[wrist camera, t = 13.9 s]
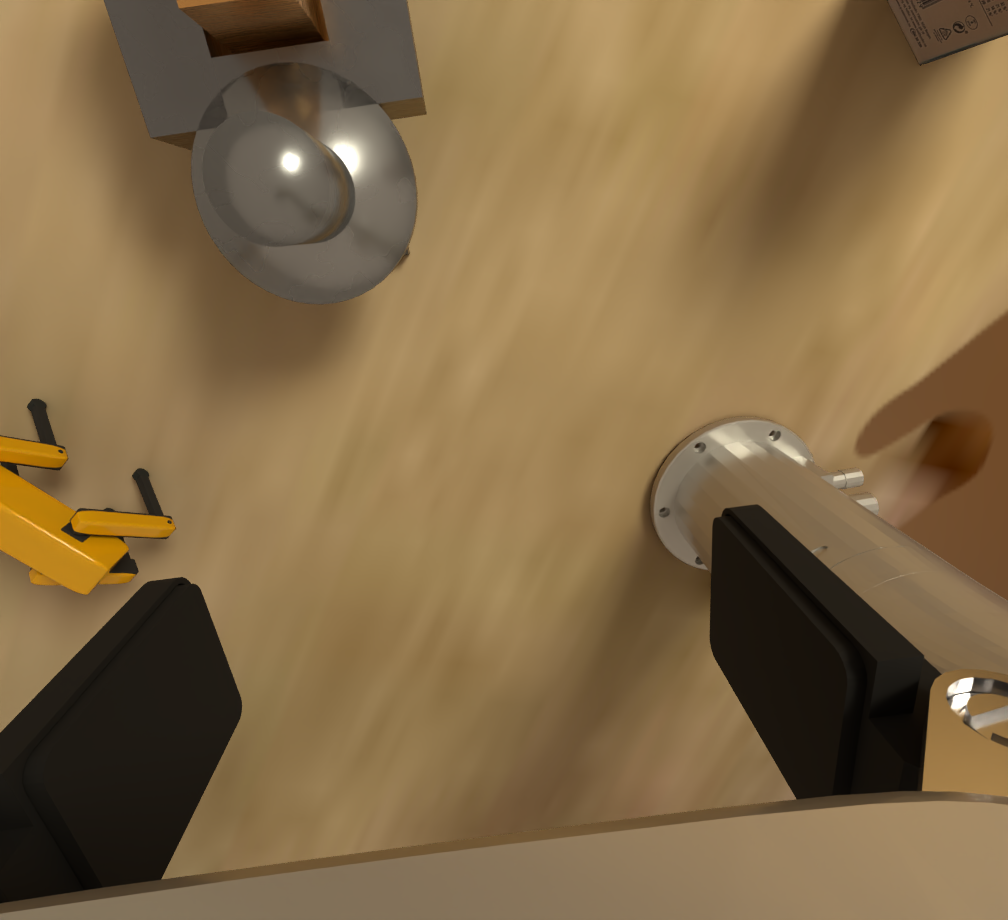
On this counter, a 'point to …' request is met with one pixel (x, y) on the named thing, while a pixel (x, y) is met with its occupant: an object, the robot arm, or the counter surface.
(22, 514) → the robot dog
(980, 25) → the juice carton
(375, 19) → the block with square hole
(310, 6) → the wooden block
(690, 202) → the counter surface
